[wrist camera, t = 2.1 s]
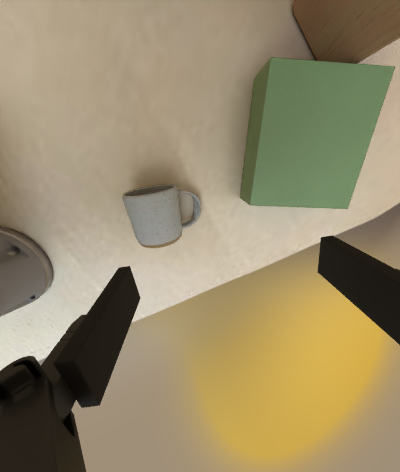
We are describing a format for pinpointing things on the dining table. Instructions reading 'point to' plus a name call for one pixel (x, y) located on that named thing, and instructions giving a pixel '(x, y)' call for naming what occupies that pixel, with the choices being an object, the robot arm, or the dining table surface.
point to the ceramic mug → (158, 214)
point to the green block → (310, 131)
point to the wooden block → (348, 27)
